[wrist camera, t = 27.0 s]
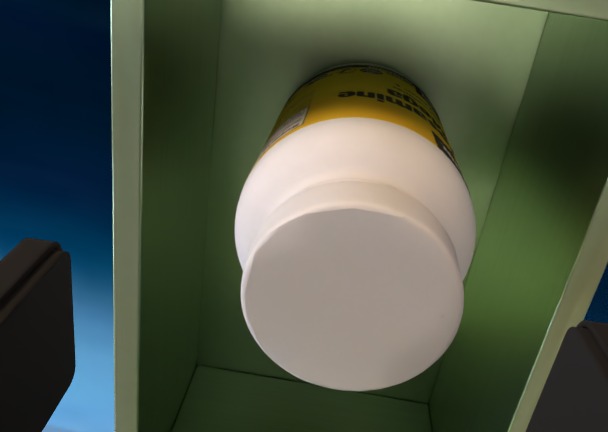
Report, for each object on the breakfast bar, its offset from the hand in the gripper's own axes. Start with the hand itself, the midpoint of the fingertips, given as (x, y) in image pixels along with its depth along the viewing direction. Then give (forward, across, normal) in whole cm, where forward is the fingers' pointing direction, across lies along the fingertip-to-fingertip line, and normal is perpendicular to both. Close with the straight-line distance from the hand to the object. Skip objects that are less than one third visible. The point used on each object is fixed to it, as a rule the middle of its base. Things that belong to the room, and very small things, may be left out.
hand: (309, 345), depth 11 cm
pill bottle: (+12, -1, 0) cm, 13 cm away
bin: (+13, -1, +3) cm, 13 cm away
